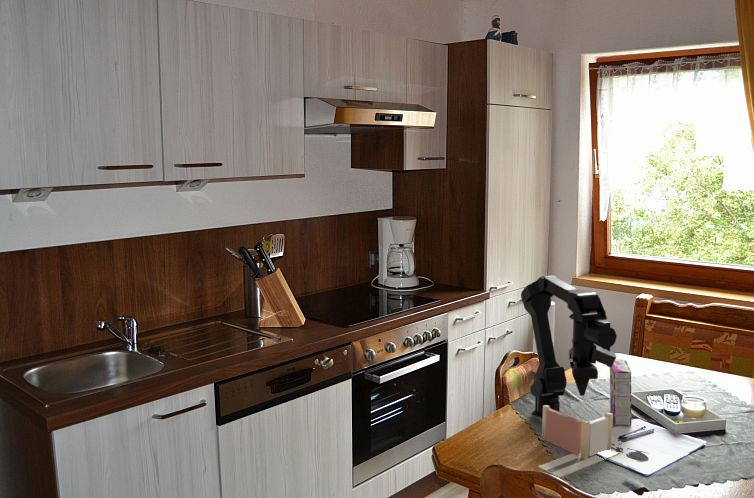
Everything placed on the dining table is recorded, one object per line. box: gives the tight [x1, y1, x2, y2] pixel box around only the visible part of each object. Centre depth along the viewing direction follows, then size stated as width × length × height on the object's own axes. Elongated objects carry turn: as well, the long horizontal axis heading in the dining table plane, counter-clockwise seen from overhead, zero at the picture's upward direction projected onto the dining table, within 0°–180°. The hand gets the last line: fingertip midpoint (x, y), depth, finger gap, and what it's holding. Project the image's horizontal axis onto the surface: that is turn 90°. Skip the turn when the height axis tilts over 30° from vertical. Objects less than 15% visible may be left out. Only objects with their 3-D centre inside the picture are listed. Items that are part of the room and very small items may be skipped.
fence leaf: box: [541, 405, 583, 455], centre depth 189 cm, size 13×2×9 cm, turn 34°
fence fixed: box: [580, 412, 614, 460], centre depth 185 cm, size 11×2×10 cm, turn 124°
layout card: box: [537, 450, 605, 479], centre depth 182 cm, size 23×7×1 cm, turn 124°
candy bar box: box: [609, 359, 632, 426], centre depth 207 cm, size 11×5×16 cm, turn 168°
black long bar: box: [532, 300, 556, 354], centre depth 248 cm, size 7×7×25 cm
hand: (581, 392), depth 194 cm, fingers open, 4 cm apart
